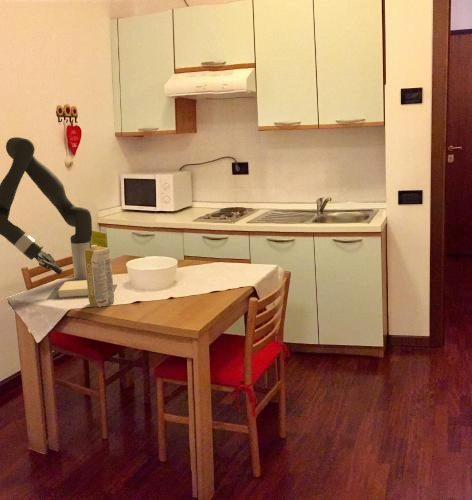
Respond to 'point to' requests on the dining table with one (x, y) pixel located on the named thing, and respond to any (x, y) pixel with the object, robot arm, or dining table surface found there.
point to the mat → (56, 296)
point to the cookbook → (73, 289)
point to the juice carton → (99, 275)
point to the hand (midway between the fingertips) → (61, 272)
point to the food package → (99, 239)
